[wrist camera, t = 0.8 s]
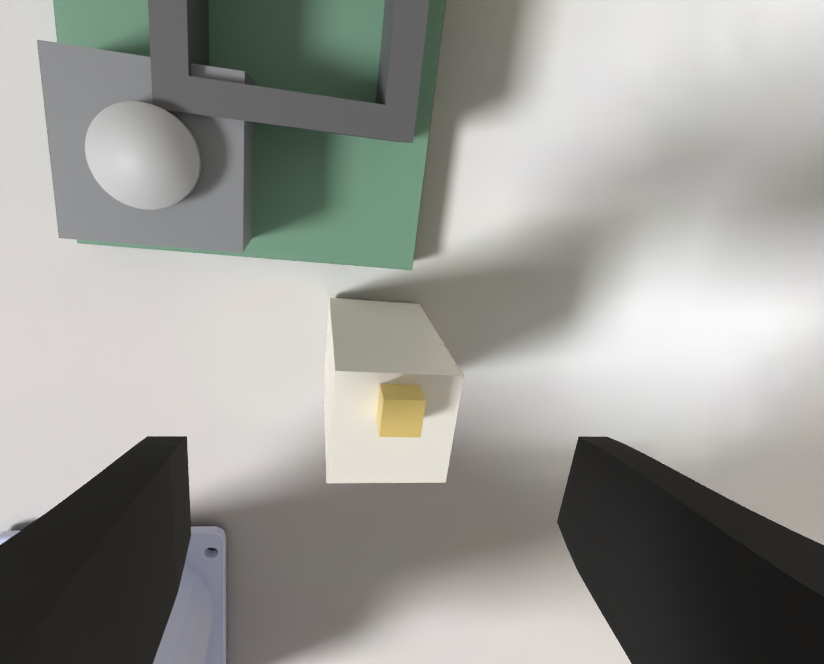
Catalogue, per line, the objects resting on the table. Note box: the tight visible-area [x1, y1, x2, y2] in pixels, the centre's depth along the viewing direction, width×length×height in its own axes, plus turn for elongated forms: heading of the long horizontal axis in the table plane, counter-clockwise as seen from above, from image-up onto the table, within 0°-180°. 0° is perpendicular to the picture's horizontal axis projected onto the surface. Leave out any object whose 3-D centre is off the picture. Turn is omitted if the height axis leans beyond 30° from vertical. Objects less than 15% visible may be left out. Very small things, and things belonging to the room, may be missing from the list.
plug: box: [324, 298, 464, 483], centre depth 15 cm, size 3×3×7 cm
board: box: [37, 0, 446, 270], centre depth 13 cm, size 12×10×4 cm
